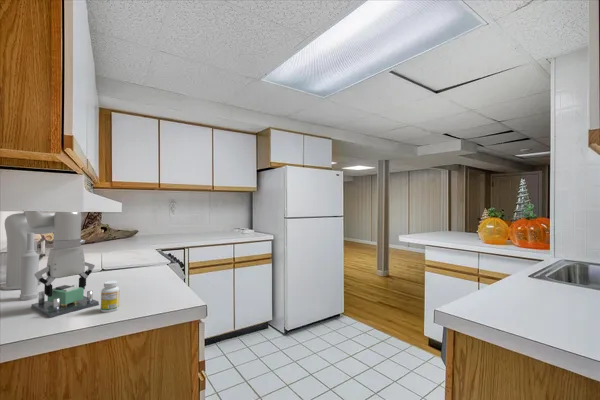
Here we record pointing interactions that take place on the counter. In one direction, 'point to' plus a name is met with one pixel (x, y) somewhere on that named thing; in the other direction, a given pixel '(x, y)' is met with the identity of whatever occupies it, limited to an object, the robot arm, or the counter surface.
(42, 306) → the chassis
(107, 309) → the supplement bottle
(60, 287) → the green rectangular module
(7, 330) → the counter surface
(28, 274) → the bottle
